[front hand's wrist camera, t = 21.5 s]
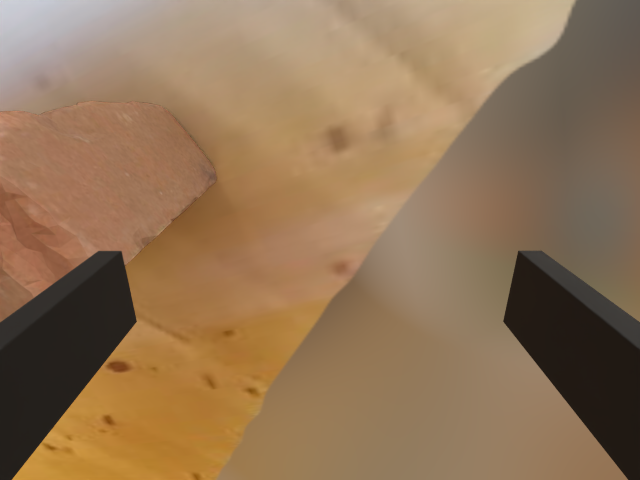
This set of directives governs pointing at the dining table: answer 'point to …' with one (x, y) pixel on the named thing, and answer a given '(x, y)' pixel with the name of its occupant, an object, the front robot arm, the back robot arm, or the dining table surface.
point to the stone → (88, 188)
